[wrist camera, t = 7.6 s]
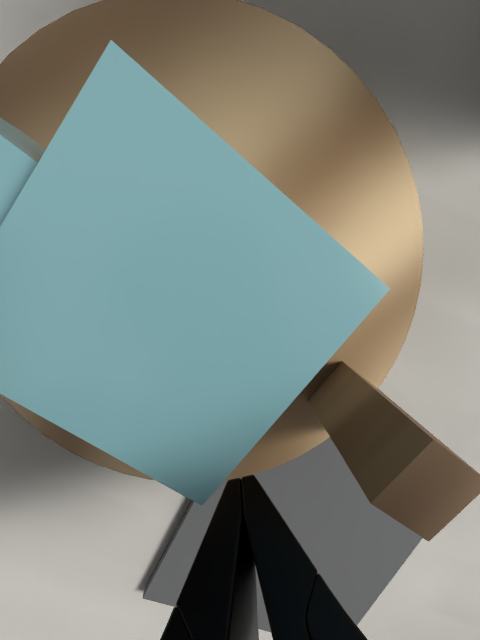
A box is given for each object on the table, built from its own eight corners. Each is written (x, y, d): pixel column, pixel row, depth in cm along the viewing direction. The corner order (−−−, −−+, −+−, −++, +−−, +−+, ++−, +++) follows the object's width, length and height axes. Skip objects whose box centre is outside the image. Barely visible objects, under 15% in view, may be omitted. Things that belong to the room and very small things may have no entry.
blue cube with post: (298, 271, 9) (390, 288, 4) (211, 380, 10) (202, 505, 5) (97, 104, 8) (-131, -177, 3) (11, 245, 8) (-296, 229, 3)
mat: (335, 640, 16) (338, 649, 16) (144, 589, 14) (142, 598, 14) (451, 485, 14) (457, 491, 14) (245, 400, 12) (245, 405, 12)
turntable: (491, 244, 10) (759, 231, 5) (237, 524, 13) (248, 710, 7) (131, -134, 7) (-85, -1069, 2) (-121, 325, 10) (-526, 405, 4)
